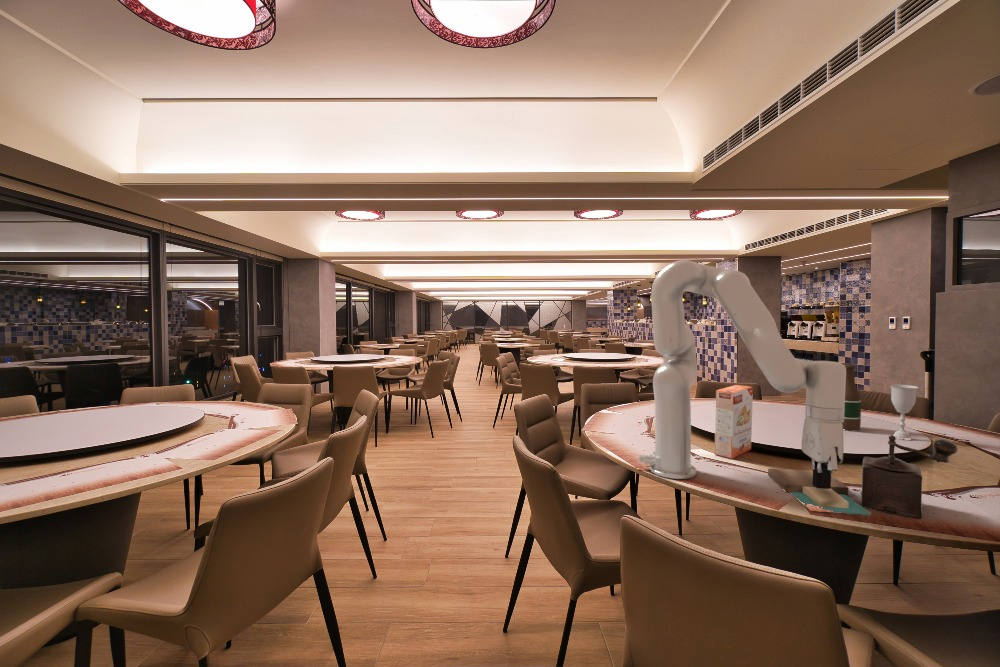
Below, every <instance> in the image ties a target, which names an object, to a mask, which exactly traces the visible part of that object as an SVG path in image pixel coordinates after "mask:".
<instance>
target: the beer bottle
mask: <svg viewBox="0 0 1000 667" xmlns="http://www.w3.org/2000/svg"><path fill="white" fill-rule="evenodd" d="M843 365H844V366H845V368H846V386H845V409H844V422H842V426H843V429H845V430H844V431H846V430H858V431H860V430H861V423H862V422H861V421H862V420H861V419H862V418H861V417H862V395H861V392H860V390H859V389H858V388H857V386H856V380H855V379H856V377H855V368H856V366H855V364H853V363H852V364H851V363H844V364H843Z"/></svg>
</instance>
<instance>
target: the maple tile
mask: <svg viewBox="0 0 1000 667" xmlns="http://www.w3.org/2000/svg"><path fill="white" fill-rule="evenodd" d="M803 493H804V494H805V495H806V496H807V497H809V498H810V499H811V500H812V501H813V502H814V503H816V504H817V505H818V506H819V507H833V508H848V505H849V502H848V501H847V500H845V499H844V498H843V497H841V496H840V495H839V494H837V493H836V492H835V491H833V490H832V489H831V488H830V489H822V488H816V487H805V486H803Z"/></svg>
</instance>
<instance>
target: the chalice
mask: <svg viewBox="0 0 1000 667" xmlns="http://www.w3.org/2000/svg"><path fill="white" fill-rule="evenodd" d="M889 387H890V390H891V393H890V395H891V396H890V400H891V404H892V405H893V407H894V409H895V411H896V412H897V413H900V417H899V420H900V423H898V425H899V426H900V428H899V429H898V430H896V431H894V433H893V434H892V435H893V436H895V437H897V438H911V435H910V433H909V432H908V431H906V430H905V427H906V423H905V422H906V418H905V416H906V415H905V414H908V413H910V411H911V410H912V409H913V407H914V406H915V403H916V401H917V390H918V389H919V387H918V386H915V385H908V384H890V385H889Z"/></svg>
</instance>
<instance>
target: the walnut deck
mask: <svg viewBox="0 0 1000 667" xmlns="http://www.w3.org/2000/svg"><path fill="white" fill-rule="evenodd" d="M813 470H814V469H810V470H808V469H788V468H787V469H785V468H767V476H768V477H769V479H771V480H772V481H773V482H774V483H775V484H776V485H777V484H778V485H779V486H778V485H777V486H778V487H779V488H780V489H782V490H783V489H784V490H785V491H786V492H785V491H784V490H783V491H784V492H785V493H789V492H803V486H805V487H815V486H813V484H812V482H813ZM831 489H832V490H833V491H835V492H836V493H837V494H842V495H846V496H848V497H849V489H850V488H849V487H848V486H847V485H846V484H844V483H843V482H841V481H840V480H839V479H837V478H835V477H834V476H833V475H831Z"/></svg>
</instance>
